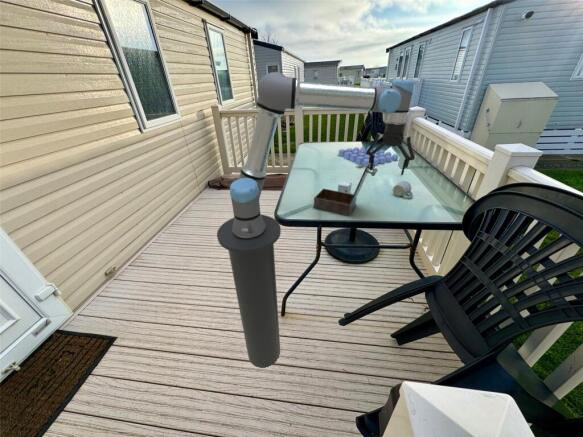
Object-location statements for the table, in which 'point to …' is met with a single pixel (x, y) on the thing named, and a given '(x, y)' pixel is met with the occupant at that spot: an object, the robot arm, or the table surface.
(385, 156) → the purple egg tray
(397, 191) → the ceramic mug
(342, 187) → the product carton
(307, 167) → the table surface
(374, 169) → the lid
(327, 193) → the brown wooden box
